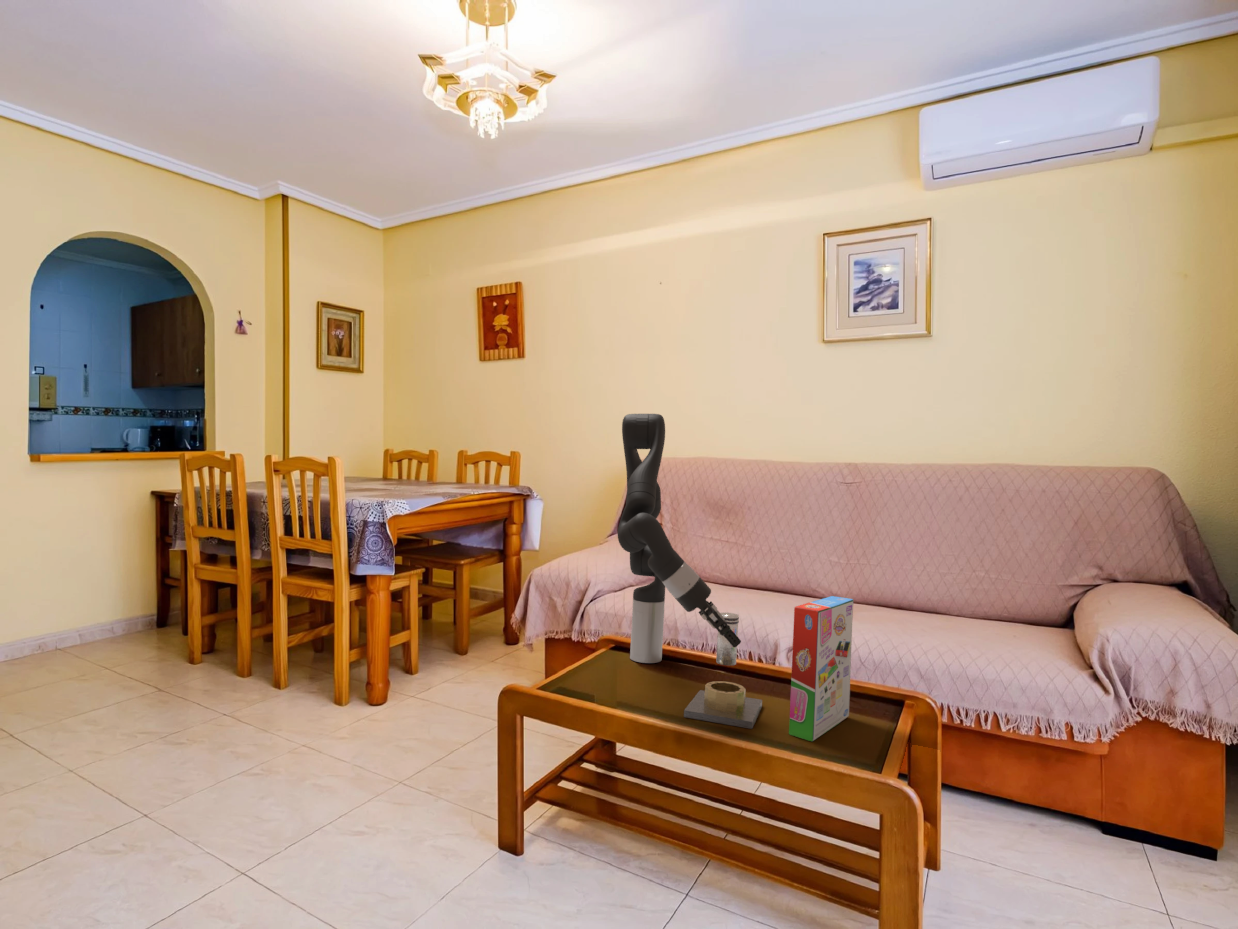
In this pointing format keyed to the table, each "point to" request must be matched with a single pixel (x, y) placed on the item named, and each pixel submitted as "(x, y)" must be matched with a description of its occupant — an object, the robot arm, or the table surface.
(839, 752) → the table surface
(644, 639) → the robot arm
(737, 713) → the tan pot on tray
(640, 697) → the table surface
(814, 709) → the game box
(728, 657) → the piston
